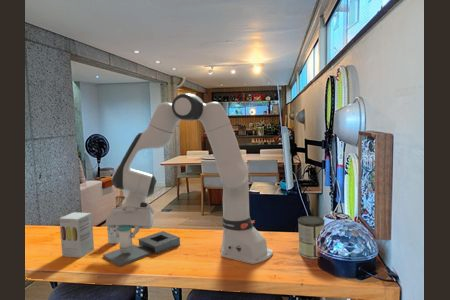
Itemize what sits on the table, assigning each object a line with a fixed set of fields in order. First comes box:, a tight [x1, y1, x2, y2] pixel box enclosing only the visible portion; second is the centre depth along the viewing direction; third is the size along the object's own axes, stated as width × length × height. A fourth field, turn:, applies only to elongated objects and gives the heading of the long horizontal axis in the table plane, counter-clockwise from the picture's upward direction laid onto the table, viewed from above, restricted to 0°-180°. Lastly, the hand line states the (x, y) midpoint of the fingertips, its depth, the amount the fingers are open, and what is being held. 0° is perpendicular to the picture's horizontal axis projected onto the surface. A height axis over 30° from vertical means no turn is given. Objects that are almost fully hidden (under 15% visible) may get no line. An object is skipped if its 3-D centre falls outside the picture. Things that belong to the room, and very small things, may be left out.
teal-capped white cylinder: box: [118, 226, 133, 253], centre depth 130 cm, size 5×5×10 cm
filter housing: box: [138, 230, 181, 255], centre depth 139 cm, size 13×13×4 cm
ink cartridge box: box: [105, 219, 120, 244], centre depth 148 cm, size 9×5×15 cm, turn 168°
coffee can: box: [297, 215, 326, 260], centre depth 125 cm, size 10×10×14 cm
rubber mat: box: [102, 243, 151, 268], centre depth 130 cm, size 14×14×1 cm
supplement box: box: [59, 211, 95, 259], centre depth 135 cm, size 10×9×17 cm
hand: (124, 237), depth 129 cm, fingers closed on teal-capped white cylinder, 5 cm apart
